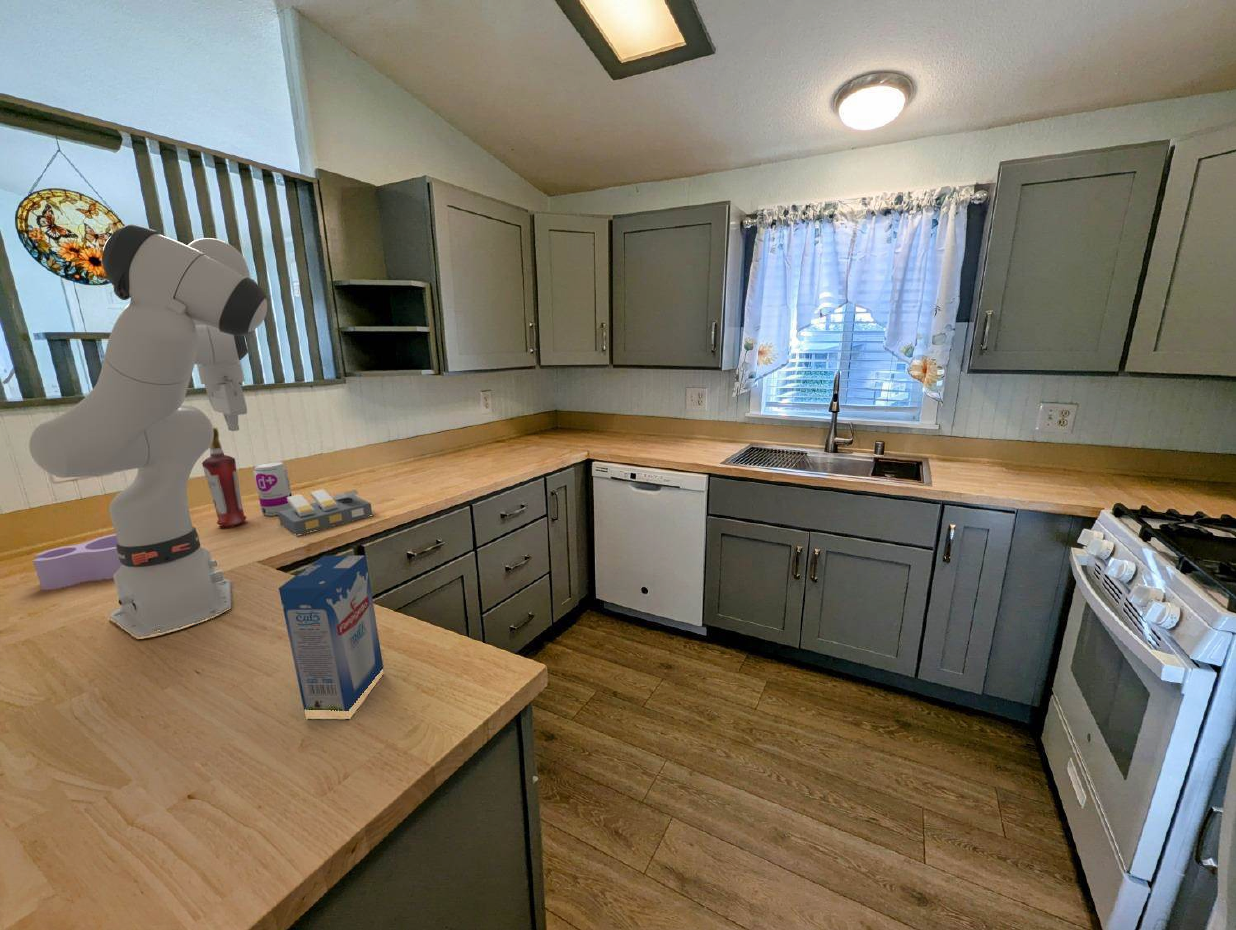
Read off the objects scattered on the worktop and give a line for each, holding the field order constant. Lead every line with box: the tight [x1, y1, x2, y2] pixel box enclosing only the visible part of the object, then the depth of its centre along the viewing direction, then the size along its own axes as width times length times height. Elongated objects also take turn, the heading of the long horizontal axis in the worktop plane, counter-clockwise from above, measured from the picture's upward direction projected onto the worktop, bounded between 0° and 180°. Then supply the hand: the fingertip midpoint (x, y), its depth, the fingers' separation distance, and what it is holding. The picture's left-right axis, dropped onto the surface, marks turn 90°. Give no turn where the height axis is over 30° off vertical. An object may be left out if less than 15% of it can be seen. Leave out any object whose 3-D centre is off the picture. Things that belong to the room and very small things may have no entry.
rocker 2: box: [310, 488, 338, 511], centre depth 147 cm, size 10×4×1 cm, turn 48°
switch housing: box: [278, 495, 373, 536], centre depth 148 cm, size 14×20×5 cm
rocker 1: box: [287, 494, 314, 517], centre depth 142 cm, size 10×4×1 cm, turn 48°
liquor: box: [201, 427, 248, 528], centre depth 143 cm, size 7×7×28 cm
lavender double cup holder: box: [32, 533, 122, 591], centre depth 117 cm, size 20×12×7 cm, turn 133°
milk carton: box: [278, 554, 384, 711], centre depth 72 cm, size 10×6×20 cm, turn 178°
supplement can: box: [253, 461, 293, 517], centre depth 154 cm, size 8×8×15 cm
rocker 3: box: [333, 489, 359, 499], centre depth 151 cm, size 10×4×1 cm, turn 47°
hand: (234, 430), depth 131 cm, fingers closed
